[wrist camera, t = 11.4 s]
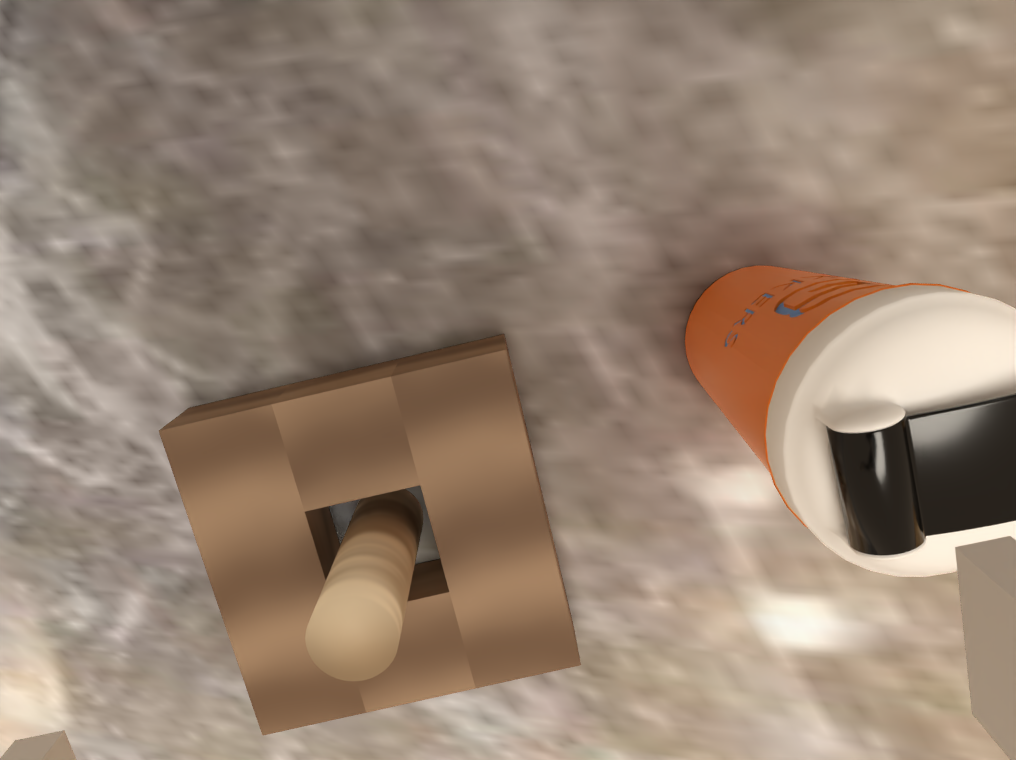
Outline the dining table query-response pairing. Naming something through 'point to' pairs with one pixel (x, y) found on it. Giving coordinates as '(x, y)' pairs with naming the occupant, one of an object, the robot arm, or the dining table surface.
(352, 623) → the peg
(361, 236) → the dining table surface
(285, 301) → the dining table surface
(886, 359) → the shaker bottle
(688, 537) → the dining table surface
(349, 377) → the socket block
